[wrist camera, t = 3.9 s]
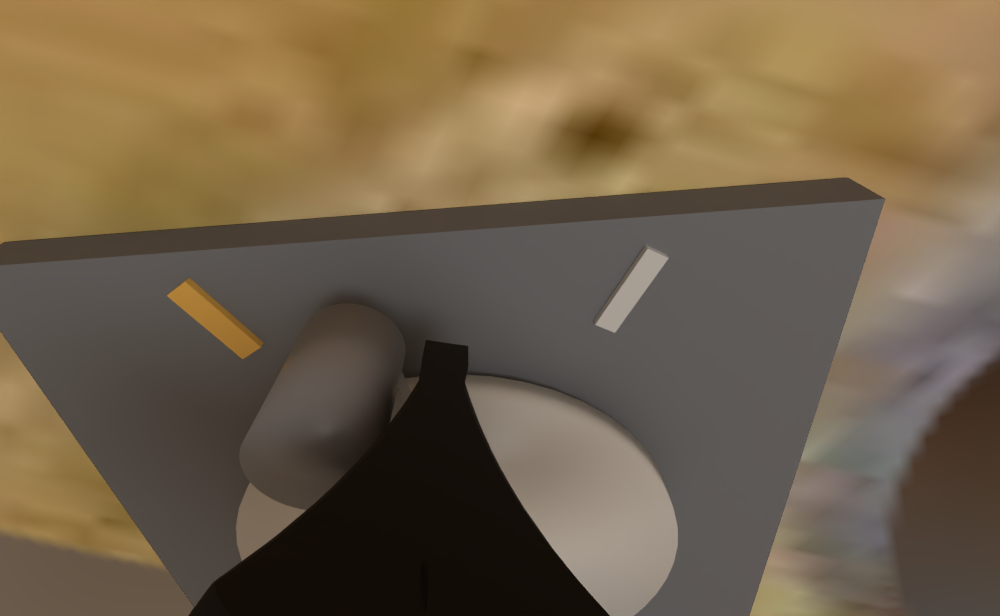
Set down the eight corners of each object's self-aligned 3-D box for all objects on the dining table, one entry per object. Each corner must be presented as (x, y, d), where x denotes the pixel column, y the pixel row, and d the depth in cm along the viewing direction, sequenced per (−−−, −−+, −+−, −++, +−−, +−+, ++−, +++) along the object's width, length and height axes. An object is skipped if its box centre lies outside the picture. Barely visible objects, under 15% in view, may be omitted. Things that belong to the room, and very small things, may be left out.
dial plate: (720, 630, 25) (734, 670, 24) (263, 654, 26) (250, 694, 24) (847, 177, 13) (890, 201, 12) (5, 242, 14) (-52, 272, 13)
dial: (681, 613, 21) (725, 763, 17) (347, 659, 22) (316, 806, 18) (636, 214, 12) (709, 333, 8) (88, 338, 14) (-80, 489, 10)
